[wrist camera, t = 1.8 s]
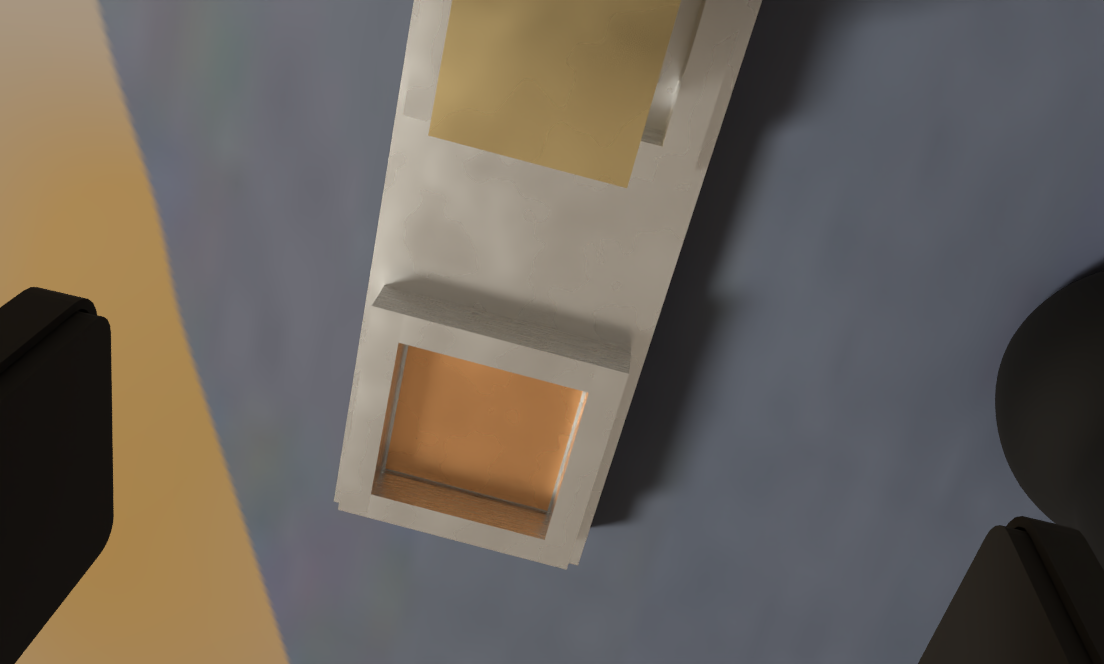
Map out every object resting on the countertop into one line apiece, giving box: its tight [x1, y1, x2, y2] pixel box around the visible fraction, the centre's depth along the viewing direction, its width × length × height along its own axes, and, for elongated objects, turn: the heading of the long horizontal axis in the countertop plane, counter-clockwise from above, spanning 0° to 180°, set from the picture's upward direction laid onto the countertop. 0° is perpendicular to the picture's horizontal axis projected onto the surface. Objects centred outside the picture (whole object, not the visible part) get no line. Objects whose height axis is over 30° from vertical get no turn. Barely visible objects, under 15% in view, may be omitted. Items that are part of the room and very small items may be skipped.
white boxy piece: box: [334, 0, 762, 570], centre depth 30 cm, size 24×9×4 cm, turn 167°
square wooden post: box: [428, 0, 681, 188], centre depth 23 cm, size 4×4×8 cm
